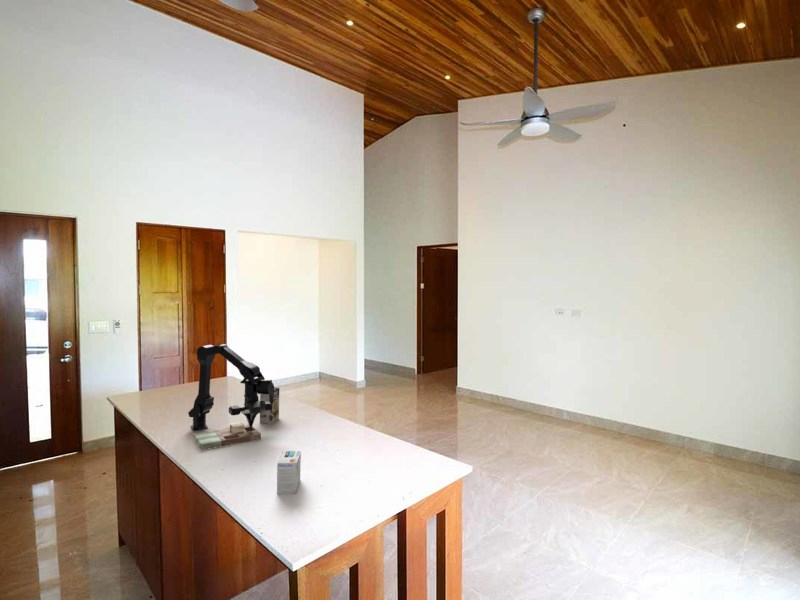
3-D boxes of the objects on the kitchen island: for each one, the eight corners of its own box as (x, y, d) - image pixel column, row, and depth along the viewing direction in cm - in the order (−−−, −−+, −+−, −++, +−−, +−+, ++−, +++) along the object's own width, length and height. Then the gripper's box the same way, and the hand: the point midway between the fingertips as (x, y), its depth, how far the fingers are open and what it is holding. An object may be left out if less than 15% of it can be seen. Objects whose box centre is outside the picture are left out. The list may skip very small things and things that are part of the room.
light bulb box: (281, 479, 162) (282, 450, 161) (300, 479, 162) (301, 450, 162) (276, 494, 151) (276, 462, 150) (296, 493, 152) (297, 462, 151)
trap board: (194, 439, 199) (194, 433, 199) (250, 429, 213) (251, 424, 213) (201, 450, 187) (201, 444, 187) (260, 439, 201) (260, 433, 201)
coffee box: (271, 423, 222) (271, 391, 222) (259, 422, 224) (259, 390, 223) (279, 418, 231) (280, 387, 231) (268, 417, 233) (268, 386, 232)
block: (229, 430, 205) (229, 423, 205) (240, 428, 208) (241, 421, 207) (232, 433, 201) (232, 426, 200) (244, 431, 203) (244, 424, 203)
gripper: (235, 399, 195) (234, 435, 196) (276, 394, 206) (276, 428, 206) (228, 394, 204) (228, 427, 205) (268, 389, 215) (268, 421, 216)
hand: (250, 426), depth 208 cm, fingers closed
